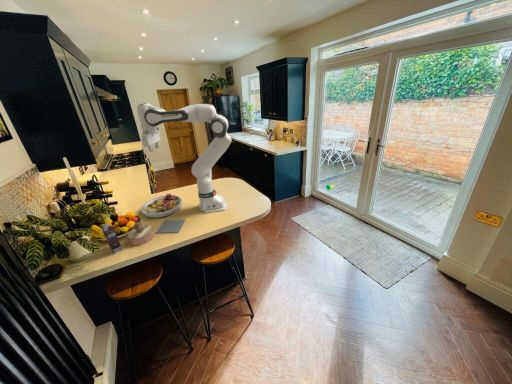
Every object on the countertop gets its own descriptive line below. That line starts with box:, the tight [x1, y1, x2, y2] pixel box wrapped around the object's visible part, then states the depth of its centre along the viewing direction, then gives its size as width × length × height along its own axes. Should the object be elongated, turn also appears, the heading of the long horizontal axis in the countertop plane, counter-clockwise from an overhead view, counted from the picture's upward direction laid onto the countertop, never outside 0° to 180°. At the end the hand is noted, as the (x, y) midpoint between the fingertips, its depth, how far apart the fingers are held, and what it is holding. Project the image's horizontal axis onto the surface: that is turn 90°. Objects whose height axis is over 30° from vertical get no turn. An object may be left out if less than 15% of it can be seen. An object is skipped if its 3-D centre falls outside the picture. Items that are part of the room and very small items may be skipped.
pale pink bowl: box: [127, 221, 154, 239], centre depth 133 cm, size 14×14×7 cm
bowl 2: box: [140, 193, 183, 218], centre depth 168 cm, size 30×30×8 cm
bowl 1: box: [127, 227, 155, 246], centre depth 135 cm, size 14×14×4 cm
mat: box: [155, 219, 186, 234], centre depth 146 cm, size 15×15×1 cm
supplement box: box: [100, 222, 123, 255], centre depth 124 cm, size 9×5×16 cm, turn 48°
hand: (154, 149), depth 149 cm, fingers open, 8 cm apart
